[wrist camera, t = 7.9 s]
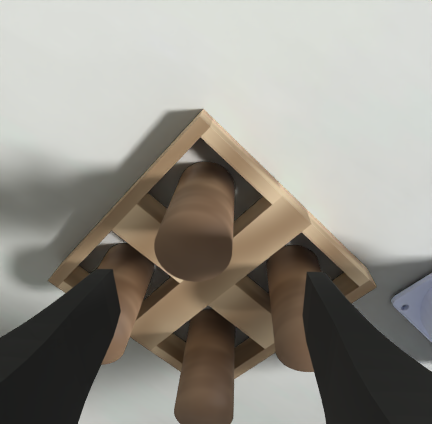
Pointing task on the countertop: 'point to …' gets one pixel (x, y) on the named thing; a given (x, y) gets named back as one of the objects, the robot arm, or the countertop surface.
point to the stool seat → (215, 282)
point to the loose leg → (198, 224)
